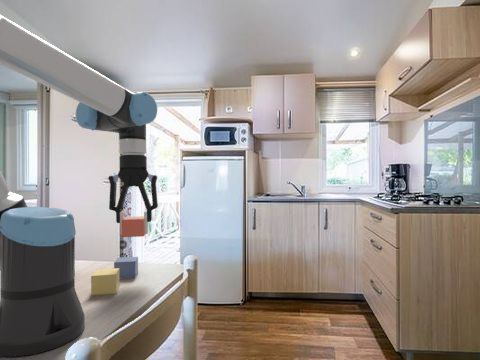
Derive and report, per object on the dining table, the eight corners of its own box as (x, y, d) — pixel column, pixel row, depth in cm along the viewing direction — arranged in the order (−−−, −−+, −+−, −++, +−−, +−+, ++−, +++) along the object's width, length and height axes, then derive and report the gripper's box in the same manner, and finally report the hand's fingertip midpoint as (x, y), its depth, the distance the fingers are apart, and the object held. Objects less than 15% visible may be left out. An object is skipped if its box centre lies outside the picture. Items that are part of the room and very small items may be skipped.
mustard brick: (116, 293, 82) (116, 274, 82) (91, 295, 80) (91, 275, 80) (119, 286, 87) (119, 268, 87) (95, 288, 86) (95, 269, 86)
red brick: (143, 236, 91) (143, 218, 91) (122, 237, 90) (121, 219, 90) (146, 232, 97) (146, 216, 97) (125, 233, 96) (125, 217, 96)
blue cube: (135, 278, 95) (135, 261, 95) (114, 279, 94) (114, 262, 94) (138, 272, 101) (138, 256, 101) (118, 273, 100) (118, 257, 100)
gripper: (167, 155, 98) (168, 230, 99) (102, 155, 95) (103, 232, 96) (165, 153, 91) (166, 234, 91) (95, 154, 88) (96, 237, 88)
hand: (134, 233), depth 93 cm, fingers closed on red brick, 6 cm apart
